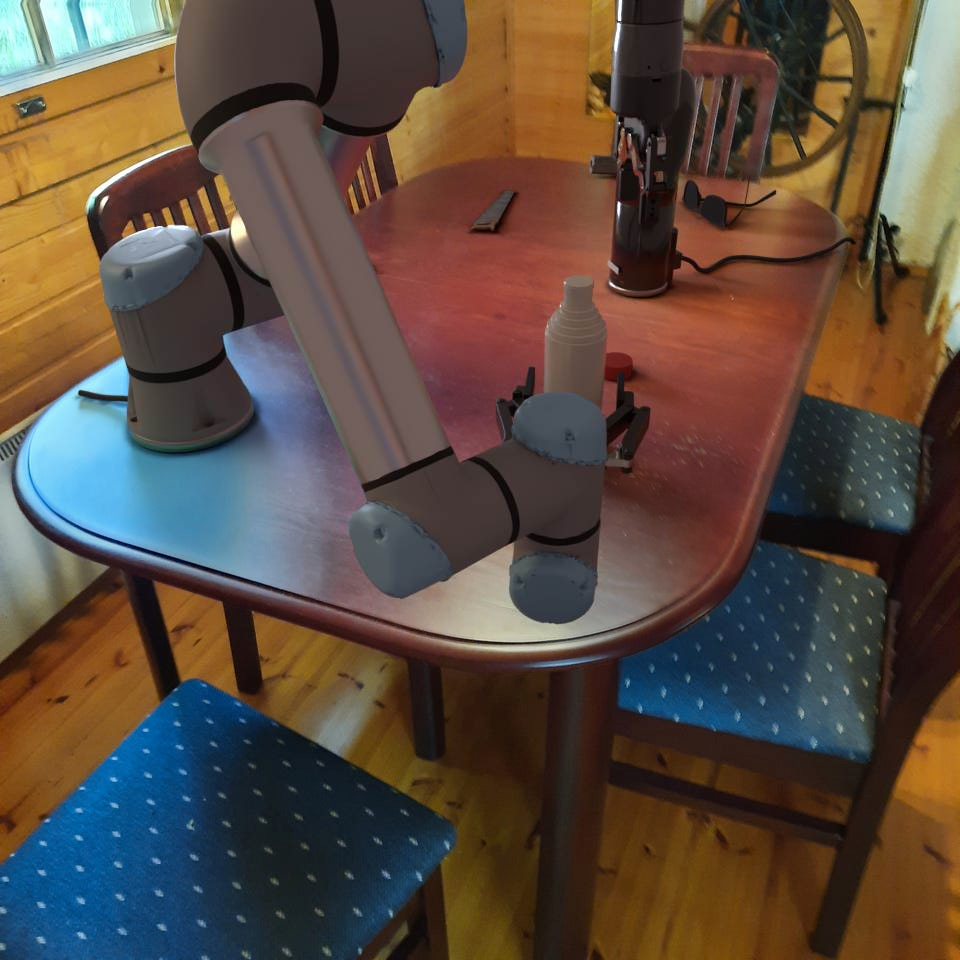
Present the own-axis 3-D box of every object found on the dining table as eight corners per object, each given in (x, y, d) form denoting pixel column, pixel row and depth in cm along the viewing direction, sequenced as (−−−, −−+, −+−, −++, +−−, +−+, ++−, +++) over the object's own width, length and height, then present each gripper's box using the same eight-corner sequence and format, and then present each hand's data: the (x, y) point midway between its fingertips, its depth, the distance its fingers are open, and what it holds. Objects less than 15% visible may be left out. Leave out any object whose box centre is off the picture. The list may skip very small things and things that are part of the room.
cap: (633, 366, 117) (634, 353, 116) (630, 382, 114) (631, 369, 113) (601, 363, 118) (601, 350, 117) (597, 379, 115) (597, 366, 114)
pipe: (587, 172, 186) (589, 134, 181) (645, 169, 187) (649, 131, 182) (593, 181, 181) (595, 142, 176) (652, 178, 182) (656, 139, 177)
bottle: (561, 467, 99) (568, 299, 86) (531, 438, 104) (534, 276, 91) (610, 450, 101) (624, 285, 89) (578, 423, 106) (587, 263, 94)
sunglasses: (787, 221, 160) (792, 194, 157) (718, 230, 157) (722, 203, 154) (740, 193, 173) (744, 168, 170) (675, 201, 170) (678, 176, 167)
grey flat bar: (493, 190, 178) (493, 187, 178) (515, 191, 177) (515, 188, 177) (468, 231, 159) (468, 228, 159) (493, 232, 158) (493, 229, 158)
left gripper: (452, 512, 88) (483, 400, 106) (674, 529, 85) (668, 411, 103) (449, 453, 84) (482, 346, 101) (683, 468, 81) (675, 355, 98)
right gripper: (596, 55, 98) (592, 195, 108) (631, 83, 87) (623, 237, 97) (659, 49, 99) (650, 189, 108) (703, 76, 87) (688, 230, 97)
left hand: (575, 379), depth 102 cm, fingers open, 10 cm apart
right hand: (637, 212), depth 103 cm, fingers open, 8 cm apart
